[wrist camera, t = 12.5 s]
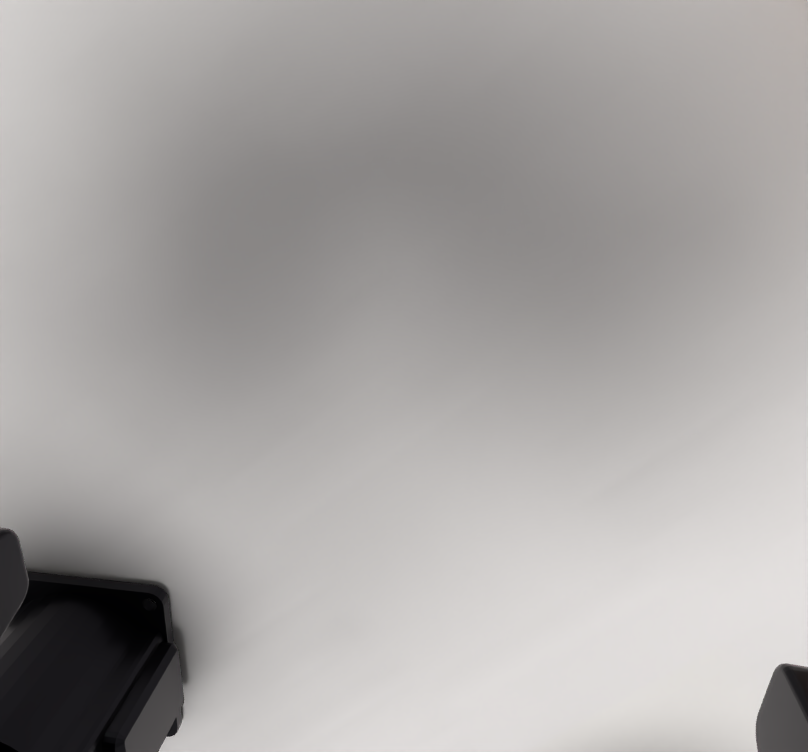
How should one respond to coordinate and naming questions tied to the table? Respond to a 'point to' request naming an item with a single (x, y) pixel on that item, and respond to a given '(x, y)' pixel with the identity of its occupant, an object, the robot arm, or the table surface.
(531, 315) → the table surface
